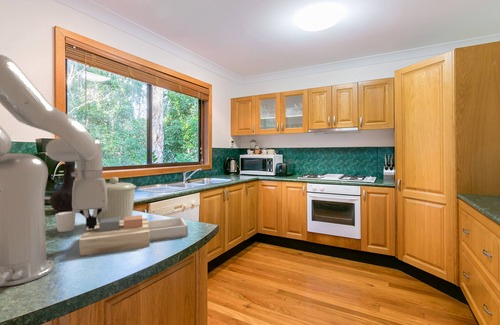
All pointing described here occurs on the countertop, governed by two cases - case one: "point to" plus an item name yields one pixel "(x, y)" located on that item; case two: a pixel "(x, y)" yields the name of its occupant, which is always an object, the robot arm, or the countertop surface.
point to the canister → (118, 200)
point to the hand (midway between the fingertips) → (91, 227)
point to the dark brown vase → (64, 191)
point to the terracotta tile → (133, 221)
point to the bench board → (114, 239)
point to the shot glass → (65, 221)
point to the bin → (167, 229)
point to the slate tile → (109, 224)
